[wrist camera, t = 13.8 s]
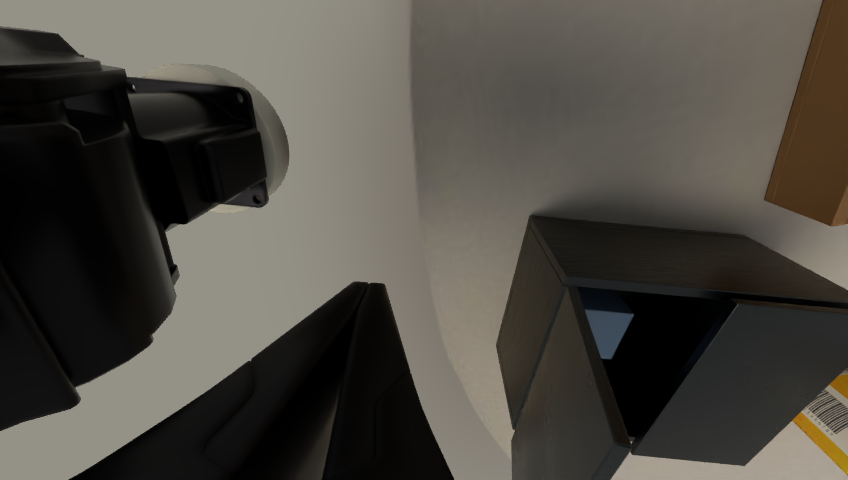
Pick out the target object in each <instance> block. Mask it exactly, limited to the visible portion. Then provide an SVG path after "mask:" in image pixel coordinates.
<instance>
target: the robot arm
mask: <svg viewBox="0 0 848 480" xmlns="http://www.w3.org/2000/svg"><path fill="white" fill-rule="evenodd" d="M133 85H134V86H135V88H136V91H134V89H133ZM238 93H240V94H241V95H242V97H243V102H240V101H239V99H238ZM266 177H267V171H266V165H265V158H264V152H263V146H262V140H261V134H260V132H259V131H258V130H257V125H256V119H255V113H254V107H253V101H252V97H251V94H250V93H249V91H248V90H247V89H245V88H243V87H239V86H227V85H216V84H205V83H194V82H182V81H171V80H160V79H149V78H137V77H127V76H126V72H125V69H122V68H117V67H111V66H105V65H101V63H100V61H98V60H93V59H89V58H84V56H83V55H79V54H78V53H77V52H76V51H75V50H74V49H73V48H72V47H71V46H70V45H69V44H68V43H67V42H66V41H65V40H64V39H63V38H62V37H61V36H60V35H59V34H56V33H50V32H44V31H39V30H29V29H20V28H11V27H2V26H0V431H2V430H4V429H7V428H9V427H12V426H14V425H17V424H19V423H22V422H25V421H28V420H32V419H36V418H40V417H43V416H47V415H51V414H54V413H58V412H61V411H65V410H68V409H71V408H73V407H74V406H76V405H77V404H78V403H79V402H80V400H81V397H80V396H79V394H78V392H77V390H76V389H75V388H76V387H78V386H81V385H83V384H86V383H88V382H91V381H92V380H94V379H96V378H98V377H100V376H102V375H103V374H106V373H107V372H109V371H111V370H113V369H115V368H117V367H119V366H120V365H122V364H124V363H126V362H127V361H129V360H130V359H132V358H133V357H135V356H136V355H137V354H139V353H140V352H141V351H143V350H144V349H146V348H147V347H148V346H150V344H151V343H152V342H153V336H152V334H153V333H154V332H155V331H156V330H157V329H158V328H159V326H160V325H161V324H162V323H163V321H165V320H166V318H167V317H168V316H169V315H170V314H171V312H172V309H173V305H174V302H175V299H176V293H175V289H174V285H175V283H176V281H177V280H178V278H179V271H178V267H177V265H175V264H174V263H173V259H172V256H171V252H170V249H169V245H168V241H167V237H166V234H165V232H167V231H169V230H170V229H172V228H174V227H176V226H177V225H179V224H187V223H189V222H191V221H192V220H194V219H196V218H198V217H199V216H201V215H203V214H204V213H206V212H208V211H210V210H211V209H213V208H215V207H216V206H218V205H220V204H224V205H235V206H245V207H256V208H260V207H263V206H265V205H266V204H267V203H268V200H269V197H268V191H267V185H266V179H265V178H266ZM256 196H259V197H260V198H261V201H259V200H258V199H257V198H256ZM69 480H454V478H453V476H452V474H451V471H450V469H449V467H448V465H447V463H446V461H445V459H444V456H443V454H442V452H441V450H440V448H439V446H438V443H437V441H436V439H435V437H434V435H433V433H432V430H431V428H430V425H429V423H428V421H427V418H426V416H425V414H424V411H423V409H422V406H421V403H420V400H419V397H418V394H417V391H416V388H415V385H414V382H413V378H412V375H411V373H410V369H409V365H408V362H407V358H406V355H405V352H404V348H403V345H402V341H401V338H400V334H399V332H398V328H397V324H396V321H395V317H394V314H393V310H392V307H391V304H390V300H389V297H388V294H387V290H386V287H385V284H382V283H370V284H368V283H367V282H353V283H351V284H350V285H348V286H347V287H346V288H344V289H343V290H342V291H341V292H339V293H338V294H337V295H335V296H334V297H333V298H331V299H330V300H329V301H327V302H326V303H325V304H323V305H322V306H321V307H319V308H318V309H317V310H315V311H314V312H313V313H311V314H310V315H309V316H307V317H306V318H305V319H304V320H302V321H301V322H299V323H298V324H297V325H295V326H294V327H293V328H291V329H290V330H289V331H288V332H286V333H285V334H284V335H282V336H281V337H280V338H278V339H277V340H276V341H274V342H273V343H272V344H270V345H269V346H268V347H266V348H265V349H264V350H262V351H261V352H260V353H258V354H257V355H256V356H254V357H253V358H252V360H251V361H248V362H246V363H245V364H244V365H242V366H241V367H240V368H238V369H237V370H236V371H235V372H233V373H232V374H230V375H229V376H227V377H226V378H225V379H223V380H222V381H221V382H219V383H218V384H217V385H215V386H214V387H212V388H211V389H210V390H208V391H207V392H205V393H204V394H202V395H201V396H199V397H198V398H196V399H195V400H193V401H192V402H190V403H189V404H187V405H186V406H184V407H183V408H181V409H180V410H179V411H177V412H175V413H174V414H172V415H171V416H169V417H167V418H166V419H164V420H163V421H161V422H160V423H158V424H157V425H155V426H153V427H152V428H150V429H149V430H147V431H146V432H144V433H143V434H141V435H140V436H138V437H137V438H135V439H133V440H132V441H130V442H129V443H127V444H126V445H124V446H123V447H121V448H120V449H118V450H116V451H115V452H113V453H112V454H110V455H109V456H107V457H106V458H104V459H103V460H101V461H99V462H98V463H96V464H95V465H93V466H92V467H90V468H88V469H86V470H85V471H83V472H82V473H80V474H78V475H76V476H74V477H73V478H71V479H69Z"/></svg>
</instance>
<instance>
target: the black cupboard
mask: <svg viewBox="0 0 848 480" xmlns="http://www.w3.org/2000/svg"><path fill="white" fill-rule="evenodd" d="M574 286H578V287H588V288H599V289H609V290H615V291H616V292H617V293H618V295H619V296H620V297H621V298H622V300H623V301H624V302H625V303H626V305H627V306H628V307H629V308H630V310H631V311H632V312H633V313H634V316H633V318H632V320H631V322H630V324H629V326H628V327H627V329H626V331H625V333H624V335H623V337H622V339H621V341H620V343H619V345H618V347H617V349H616V351H615V353H614V355H613V357H612V359H602V358H601V359H602V362H603V364H604V367H605V370H606V373H607V376H608V379H609V382H610V385H611V388H612V390H613V393H614V396H615V399H616V402H617V405H618V408H619V411H620V414H621V416H622V419H623V422H624V425H625V428H626V431H627V434H628V437H629V440H630V441H633V442H632V444H631V445H632V449H631V451H630V452H631V454H632V455H639V456H649V457H659V458H670V459H680V460H690V461H700V462H710V463H720V464H730V465H740V466H745V465H746V464H747V463H748V462H749V461H750V460H751V459H752V458H753V457H754V456H755V455H757V454H758V453H759V452H760V451H761V450H762V449H763V448H764V447H765V446H766V445H767V444H768V443H769V442H770V441H771V440H772V439H773V438H774V437H775V436H776V435H777V434H778V433H779V432H781V431H782V430H783V429H784V428H785V427H786V426H787V425H788V424H789V423H790V422H791V421H792V420H793V419H794V418H795V417H796V416H797V415H798V414H799V413H800V412H801V411H802V410H803V409H804V408H806V407H807V406H808V405H809V404H810V403H811V402H812V401H813V400H814V399H815V398H816V397H817V396H818V395H819V394H820V393H821V392H822V391H823V390H824V389H825V388H826V387H827V386H828V385H830V384H831V383H832V382H833V381H834V380H835V379H836V378H837V377H838V376H839V375H840V374H841V373H842V372H843V371H844V370H845V369H846V368H847V367H848V290H846V289H844V288H842V287H841V286H839V285H837V284H835V283H833V282H831V281H829V280H827V279H826V278H824V277H822V276H820V275H818V274H816V273H814V272H812V271H811V270H809V269H807V268H805V267H803V266H801V265H799V264H798V263H796V262H794V261H792V260H790V259H788V258H786V257H784V256H783V255H781V254H779V253H777V252H775V251H773V250H771V249H769V248H768V247H766V246H764V245H762V244H760V243H758V242H756V241H754V240H753V239H751V238H749V237H747V236H745V235H736V234H725V233H715V232H704V231H693V230H682V229H671V228H660V227H649V226H638V225H628V224H617V223H606V222H595V221H584V220H573V219H562V218H551V217H541V216H529V220H528V224H527V228H526V232H525V236H524V239H523V243H522V247H521V251H520V255H519V259H518V263H517V267H516V270H515V274H514V278H513V282H512V286H511V290H510V294H509V298H508V301H507V305H506V309H505V313H504V317H503V321H502V325H501V328H500V332H499V336H498V340H497V344H496V348H497V353H498V358H499V363H500V368H501V373H502V378H503V383H504V388H505V393H506V398H507V403H508V408H509V413H510V418H511V424H512V428H513V430H515V429H516V427H517V424H518V421H519V418H520V416H521V413H522V410H523V407H524V405H525V402H526V399H527V396H528V394H529V391H530V388H531V385H532V382H533V380H534V377H535V374H536V371H537V369H538V366H539V363H540V360H541V358H542V355H543V352H544V349H545V347H546V344H547V341H548V338H549V336H550V333H551V330H552V327H553V325H554V322H555V319H556V316H557V314H558V311H559V308H560V305H561V303H562V300H563V297H564V294H565V292H566V289H567V287H574Z"/></svg>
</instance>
